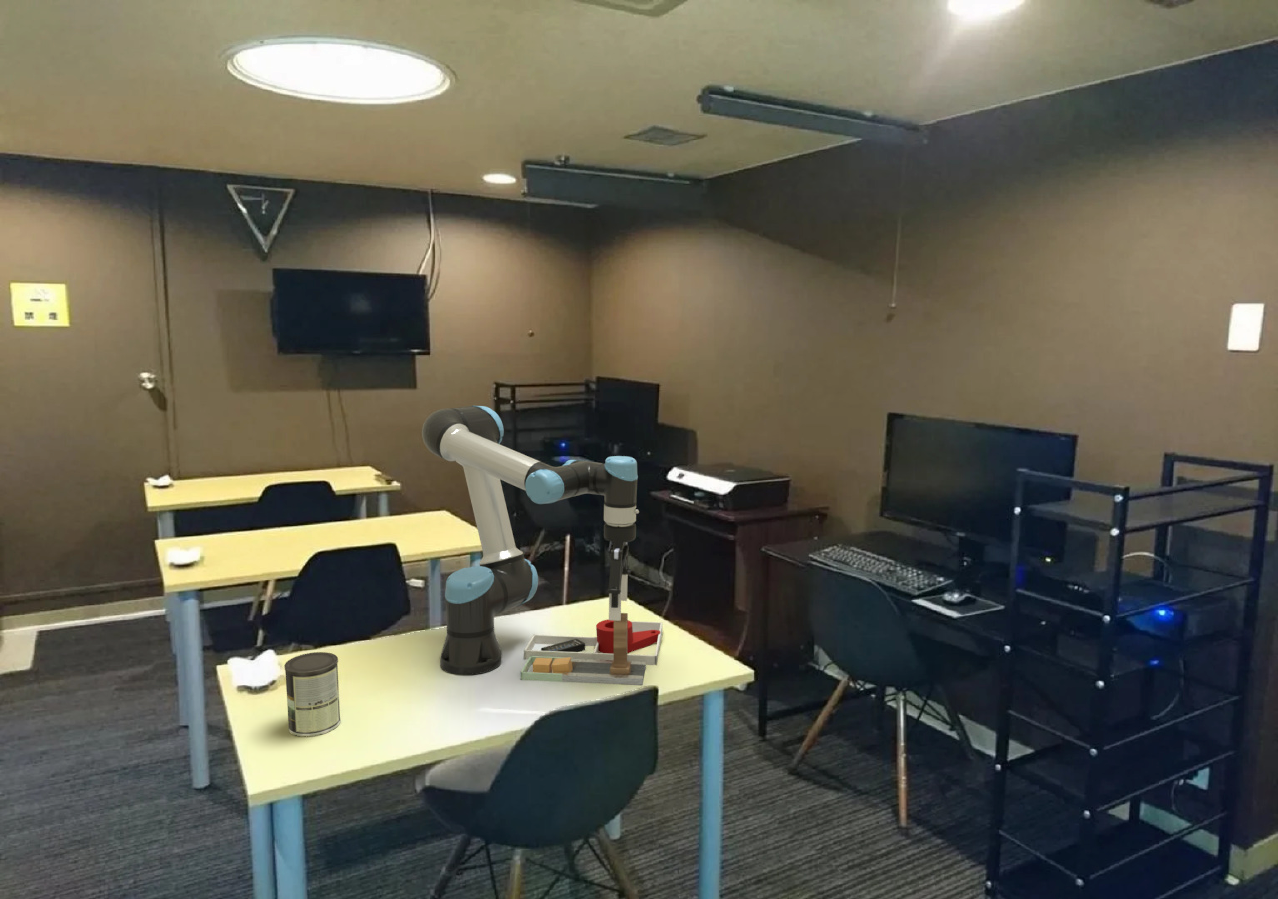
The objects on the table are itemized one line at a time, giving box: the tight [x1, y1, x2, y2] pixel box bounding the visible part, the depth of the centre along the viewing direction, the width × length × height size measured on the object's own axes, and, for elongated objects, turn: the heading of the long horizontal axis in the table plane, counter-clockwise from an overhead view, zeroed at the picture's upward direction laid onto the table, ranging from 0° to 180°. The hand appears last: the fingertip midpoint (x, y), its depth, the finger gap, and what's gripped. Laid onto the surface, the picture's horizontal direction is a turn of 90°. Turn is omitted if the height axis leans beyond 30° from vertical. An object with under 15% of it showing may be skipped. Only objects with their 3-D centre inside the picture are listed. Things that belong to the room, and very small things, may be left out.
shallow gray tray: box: [562, 659, 647, 686], centre depth 191 cm, size 19×10×2 cm, turn 85°
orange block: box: [551, 657, 573, 674], centre depth 192 cm, size 4×4×3 cm
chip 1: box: [532, 658, 553, 673], centre depth 193 cm, size 4×4×3 cm
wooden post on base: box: [610, 612, 631, 675], centre depth 190 cm, size 4×4×15 cm
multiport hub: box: [540, 639, 586, 652], centre depth 205 cm, size 4×11×2 cm, turn 128°
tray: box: [519, 656, 564, 682], centre depth 193 cm, size 10×10×2 cm
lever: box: [595, 618, 660, 654], centre depth 209 cm, size 18×9×7 cm, turn 117°
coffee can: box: [283, 651, 342, 738], centre depth 166 cm, size 10×10×14 cm
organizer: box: [523, 620, 663, 666], centre depth 211 cm, size 34×24×3 cm
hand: (618, 609), depth 189 cm, fingers open, 13 cm apart
